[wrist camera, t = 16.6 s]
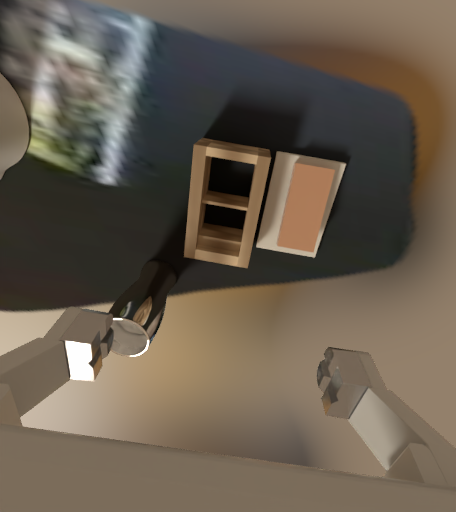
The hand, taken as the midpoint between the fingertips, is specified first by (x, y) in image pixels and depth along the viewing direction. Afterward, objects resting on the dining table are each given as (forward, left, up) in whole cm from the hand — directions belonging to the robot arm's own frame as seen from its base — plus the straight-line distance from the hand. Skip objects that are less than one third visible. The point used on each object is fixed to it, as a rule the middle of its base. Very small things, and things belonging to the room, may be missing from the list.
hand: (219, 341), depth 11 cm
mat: (+8, -5, -33) cm, 35 cm away
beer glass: (-12, -21, -34) cm, 41 cm away
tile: (+8, -4, -31) cm, 33 cm away
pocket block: (-2, -5, -33) cm, 34 cm away
